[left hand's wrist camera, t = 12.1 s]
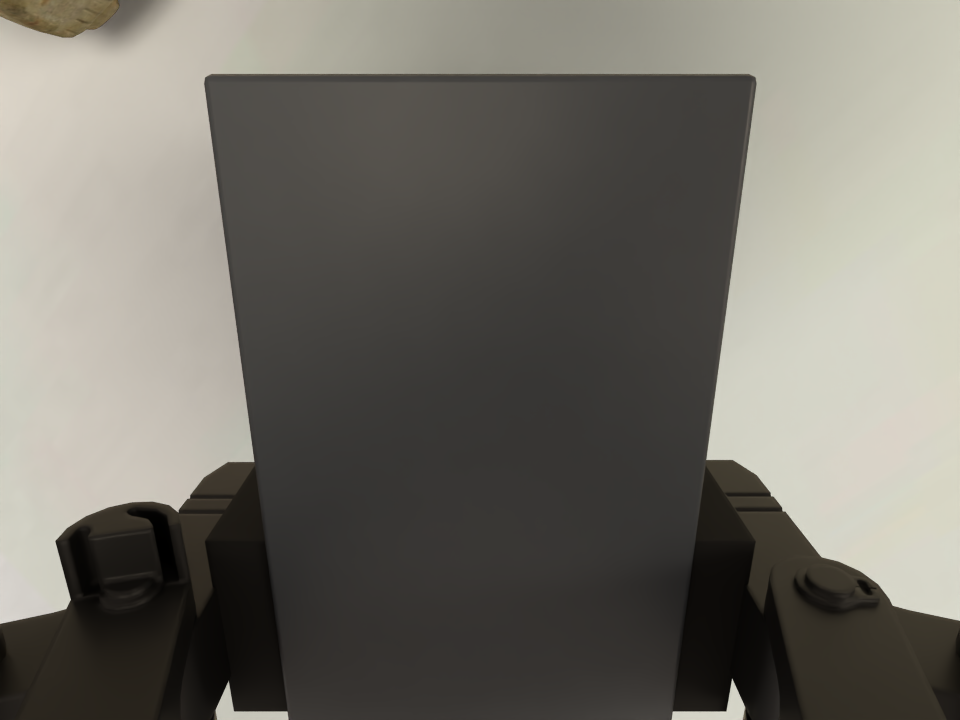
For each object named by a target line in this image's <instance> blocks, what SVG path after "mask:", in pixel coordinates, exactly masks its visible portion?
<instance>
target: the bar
mask: <svg viewBox="0 0 960 720" xmlns="http://www.w3.org/2000/svg"><path fill="white" fill-rule="evenodd" d="M204 85H205V92H206V100H207V107H208V115H209V122H210V130H211V137H212V145H213V153H214V160H215V168H216V175H217V183H218V190H219V198H220V205H221V213H222V220H223V228H224V235H225V243H226V250H227V258H228V265H229V273H230V281H231V288H232V296H233V303H234V311H235V318H236V326H237V333H238V341H239V348H240V356H241V363H242V371H243V378H244V386H245V393H246V401H247V409H248V416H249V424H250V431H251V439H252V446H253V454H254V461H255V469H256V476H257V484H258V491H259V499H260V506H261V514H262V521H263V529H264V537H265V544H266V552H267V559H268V567H269V574H270V582H271V589H272V597H273V604H274V612H275V619H276V627H277V634H278V642H279V649H280V657H281V664H282V672H283V680H284V687H285V695H286V702H287V710H288V717H289V720H672V712H673V705H674V697H675V690H676V682H677V675H678V667H679V660H680V652H681V645H682V637H683V630H684V622H685V615H686V607H687V600H688V592H689V585H690V577H691V570H692V562H693V555H694V547H695V540H696V532H697V525H698V517H699V510H700V502H701V495H702V487H703V480H704V472H705V465H706V457H707V450H708V442H709V435H710V427H711V420H712V412H713V405H714V397H715V390H716V382H717V375H718V368H719V360H720V353H721V345H722V338H723V330H724V323H725V315H726V308H727V300H728V293H729V285H730V278H731V270H732V263H733V255H734V248H735V240H736V233H737V225H738V218H739V210H740V203H741V195H742V188H743V180H744V173H745V165H746V158H747V150H748V143H749V135H750V128H751V120H752V113H753V105H754V98H755V90H756V78H755V77H754V76H752V75H750V74H211V75H209V76H207V77H205V83H204Z"/></svg>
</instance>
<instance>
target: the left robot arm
mask: <svg viewBox="0 0 960 720" xmlns="http://www.w3.org/2000/svg"><path fill="white" fill-rule="evenodd" d="M56 545H57V549H58V553H59V556H60V560H61V564H62V568H63V571H64V575H65V579H66V583H67V586H68V590H69V594H70V598H71V601H70V603H69V605H68V607H67V609H65V610H62V611H58V612H54V613H50V614H45V615H41V616H36V617H31V618H26V619H22V620H17V621H12V622H7V623H3V624H0V720H217V716H216V711H215V710H216V707H217V705H218V703H219V701H220V699H221V696H222V694H223V692H224V690H225V688H226V685H227V683H228V681H229V684H230V690H231V696H232V702H233V707H234V711H288V710H287V702H286V695H285V687H284V680H283V672H282V664H281V657H280V649H279V642H278V634H277V627H276V619H275V612H274V604H273V597H272V589H271V582H270V574H269V567H268V559H267V552H266V544H265V537H264V529H263V521H262V514H261V506H260V499H259V491H258V484H257V476H256V469H255V462H228V463H226V464H225V465H223V466H221V467H220V468H218V469H217V470H215V471H214V472H212V473H211V474H209V475H207V476H206V477H204V479H203V480H202V481H201V482H200V484H199V485H198V486H197V487H196V489H195V490H194V491H193V493H192V494H191V495H190V499H187V500H186V502H185V503H184V504H183V505H182V507H181V508H180V509H179V513H178V512H177V511H175V510H174V509H173V508H172V507H171V506H169V505H165V504H161V503H156V502H132V503H127V504H123V505H118V506H113V507H109V508H106V509H104V510H101V511H99V512H96V513H93V514H91V515H88V516H86V517H84V518H83V519H81V520H80V521H78V522H76V523H75V524H73V525H72V526H70V527H68V528H67V529H66V530H65V531H64V532H63V533H62V535H61V536H60V537H59V538H58V539H57V540H56ZM732 679H733V681H734V683H735V685H736V687H737V690H738V692H739V694H740V696H741V698H742V701H743V703H744V705H745V711H744V716H743V720H960V621H957V620H953V619H948V618H943V617H938V616H934V615H929V614H924V613H919V612H915V611H910V610H906V609H902V608H899V607H895V606H892V604H891V602H890V600H889V598H888V597H887V595H886V594H885V593H884V592H883V590H882V589H881V588H880V586H879V585H878V584H877V583H875V582H874V581H873V580H871V579H870V578H868V577H867V576H866V575H864V574H863V573H862V572H860V571H858V570H856V569H854V568H851V567H849V566H847V565H845V564H843V563H840V562H838V561H834V560H830V559H826V558H822V557H821V556H820V555H819V554H818V553H817V551H816V550H815V549H814V548H813V546H812V545H811V544H810V542H809V541H808V540H807V539H806V537H805V536H804V535H803V534H802V532H801V531H800V530H799V529H798V527H797V526H796V525H795V523H794V522H793V521H792V520H791V518H790V517H789V516H788V515H787V513H786V512H783V511H782V507H781V506H780V504H779V503H778V502H777V501H776V499H775V498H774V497H771V493H770V492H769V490H768V489H767V488H766V487H765V485H764V484H763V483H762V482H761V480H760V479H759V478H758V476H757V475H755V474H754V473H752V472H751V471H749V470H747V469H746V468H744V467H743V466H741V465H740V464H738V463H736V462H735V461H733V460H706V465H705V472H704V480H703V487H702V495H701V502H700V510H699V517H698V525H697V532H696V540H695V547H694V555H693V562H692V570H691V577H690V585H689V592H688V600H687V607H686V615H685V622H684V630H683V637H682V645H681V652H680V660H679V667H678V675H677V682H676V690H675V697H674V705H673V711H726V710H727V705H728V699H729V693H730V687H731V681H732Z"/></svg>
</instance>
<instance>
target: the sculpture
mask: <svg viewBox="0 0 960 720" xmlns="http://www.w3.org/2000/svg"><path fill="white" fill-rule="evenodd" d="M118 8H119V3H118V0H0V16H1V17H3V18H5V19H8V20H10V21H13V22H15V23H18V24H20V25H22V26H25V27H28V28H31V29H34V30H37V31H40V32H43V33H47V34H51V35H55V36H59V37H74V36H76V35H78V34H80V33H82V32H83V31H85V30H86V29H89V30H90V29H97V28H99V27H100V26H102V25H103V24H104V23H105V22H106V21H107V20H109V19H110V18H111V17H112V16H113V15H114V14H115V13H116V11H117V10H118Z"/></svg>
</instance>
